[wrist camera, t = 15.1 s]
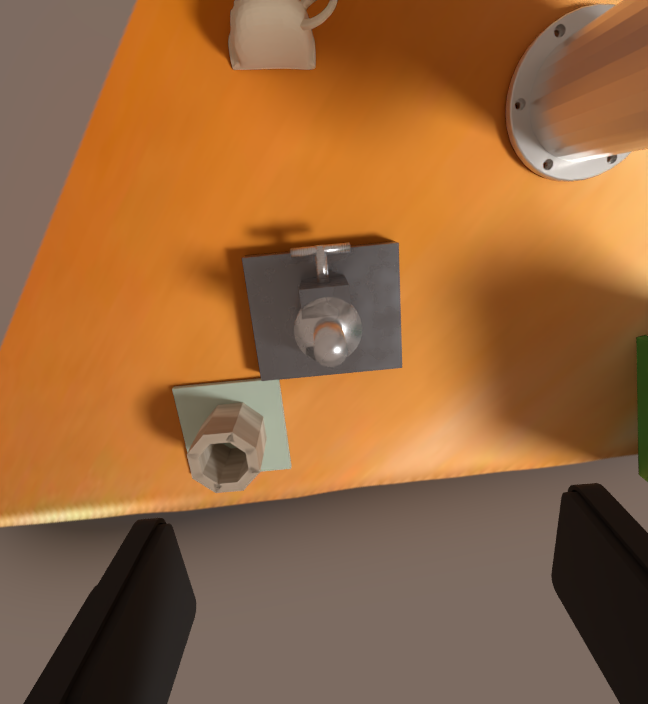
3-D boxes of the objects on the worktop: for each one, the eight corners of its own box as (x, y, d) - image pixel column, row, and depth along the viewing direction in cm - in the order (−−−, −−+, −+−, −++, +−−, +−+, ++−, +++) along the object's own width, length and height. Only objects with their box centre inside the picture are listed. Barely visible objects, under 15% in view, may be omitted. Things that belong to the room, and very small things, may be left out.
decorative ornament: (227, 8, 31) (211, -31, 26) (334, 11, 31) (338, -27, 26) (230, 69, 32) (215, 43, 27) (333, 72, 33) (336, 47, 28)
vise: (393, 234, 37) (429, 245, 26) (397, 360, 41) (430, 417, 30) (244, 249, 37) (214, 266, 26) (263, 373, 41) (245, 434, 30)
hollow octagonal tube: (260, 400, 42) (252, 430, 36) (269, 452, 44) (263, 488, 38) (199, 406, 42) (182, 437, 36) (211, 458, 44) (196, 495, 38)
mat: (278, 376, 42) (278, 378, 41) (291, 465, 45) (291, 468, 45) (173, 386, 42) (172, 388, 41) (195, 474, 45) (193, 477, 45)
